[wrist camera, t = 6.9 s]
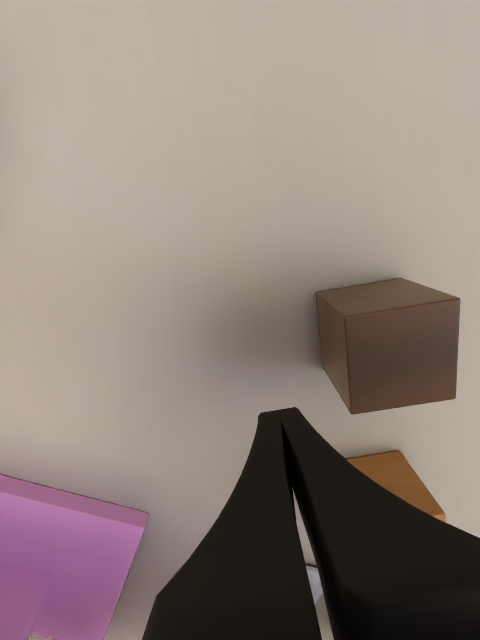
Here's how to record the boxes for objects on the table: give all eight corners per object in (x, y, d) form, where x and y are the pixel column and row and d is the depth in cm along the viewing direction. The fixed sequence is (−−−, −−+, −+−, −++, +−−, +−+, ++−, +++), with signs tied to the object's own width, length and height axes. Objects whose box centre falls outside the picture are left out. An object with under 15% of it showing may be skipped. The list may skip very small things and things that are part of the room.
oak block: (402, 505, 23) (445, 578, 19) (334, 515, 24) (360, 590, 19) (399, 450, 22) (446, 513, 17) (327, 461, 22) (353, 528, 17)
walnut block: (402, 356, 20) (456, 399, 15) (322, 368, 20) (351, 415, 15) (401, 277, 18) (461, 297, 13) (315, 291, 18) (344, 316, 14)
